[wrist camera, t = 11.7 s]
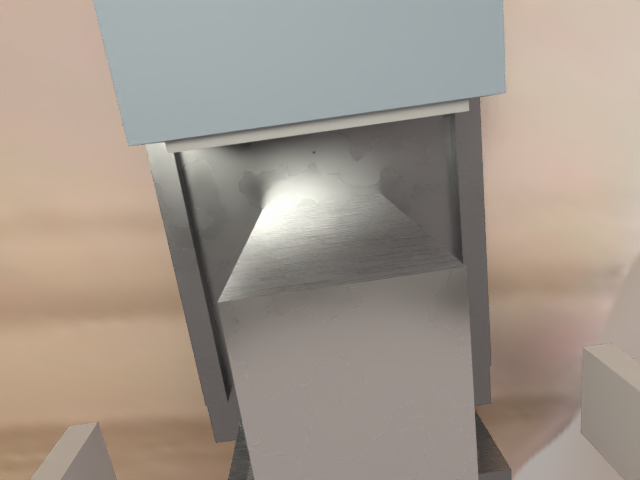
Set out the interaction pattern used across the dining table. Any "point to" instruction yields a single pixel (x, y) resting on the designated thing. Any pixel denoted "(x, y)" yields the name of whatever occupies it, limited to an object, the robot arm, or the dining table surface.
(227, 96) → the block
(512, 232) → the dining table surface
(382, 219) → the steel block
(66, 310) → the dining table surface
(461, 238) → the vise body
